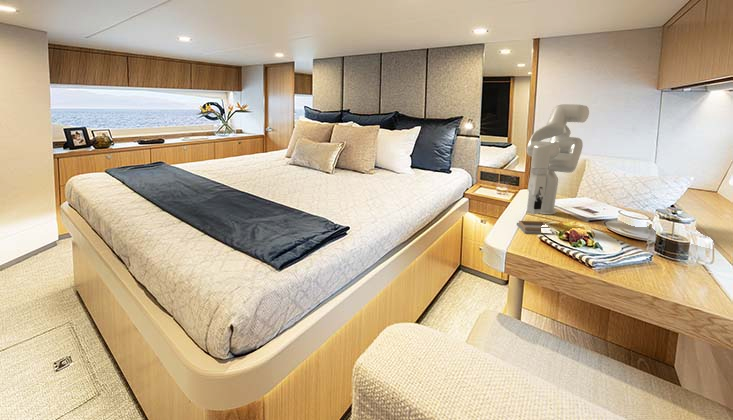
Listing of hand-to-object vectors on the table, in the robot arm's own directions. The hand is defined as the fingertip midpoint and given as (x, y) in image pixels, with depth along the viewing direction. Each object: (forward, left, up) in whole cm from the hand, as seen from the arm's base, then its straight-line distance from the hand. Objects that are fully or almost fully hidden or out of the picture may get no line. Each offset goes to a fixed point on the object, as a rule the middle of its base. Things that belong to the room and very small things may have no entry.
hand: (534, 206), depth 177 cm
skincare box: (0, 0, -4) cm, 4 cm away
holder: (+13, -4, -7) cm, 15 cm away
